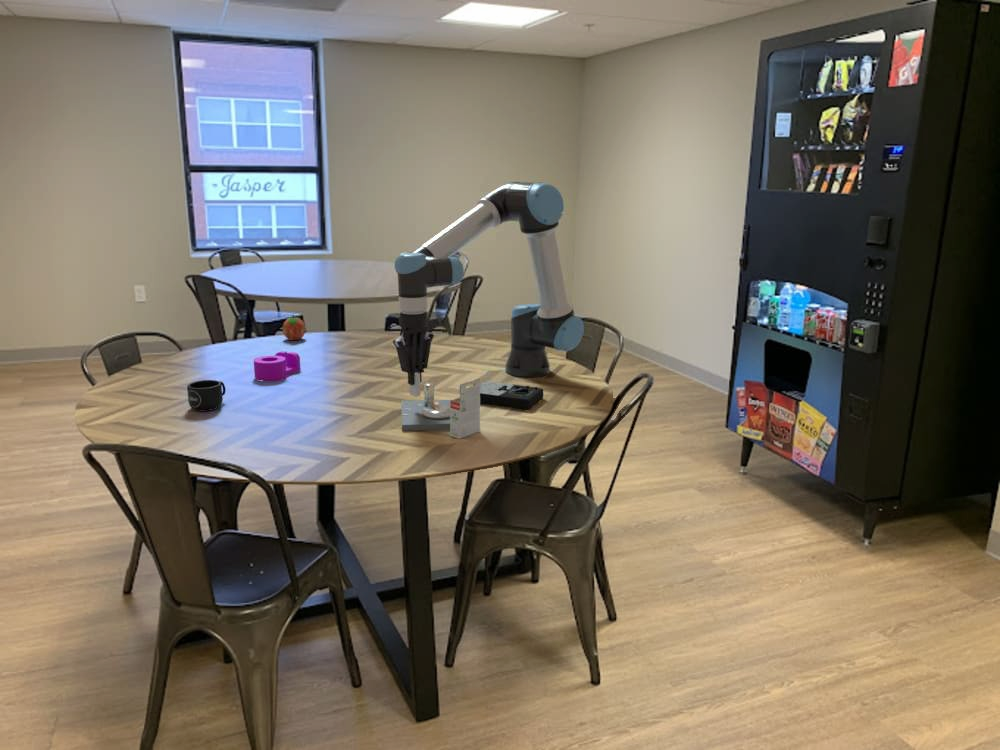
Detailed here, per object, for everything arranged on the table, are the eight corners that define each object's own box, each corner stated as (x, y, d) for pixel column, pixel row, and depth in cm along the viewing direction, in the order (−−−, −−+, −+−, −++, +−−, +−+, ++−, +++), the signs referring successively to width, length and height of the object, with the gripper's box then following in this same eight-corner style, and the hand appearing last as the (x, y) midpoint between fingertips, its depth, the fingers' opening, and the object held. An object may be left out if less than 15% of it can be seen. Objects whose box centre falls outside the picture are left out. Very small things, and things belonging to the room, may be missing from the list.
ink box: (449, 436, 195) (449, 382, 191) (470, 428, 201) (470, 376, 197) (459, 439, 193) (459, 385, 189) (480, 432, 199) (481, 378, 195)
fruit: (279, 341, 294) (277, 316, 291) (289, 336, 303) (288, 311, 301) (300, 342, 293) (298, 317, 290) (310, 337, 302) (308, 312, 299)
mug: (206, 415, 208) (204, 390, 206) (182, 410, 212) (179, 385, 210) (237, 403, 219) (235, 379, 217) (214, 399, 222) (212, 375, 220)
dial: (459, 417, 205) (459, 395, 203) (427, 421, 201) (427, 398, 200) (442, 402, 217) (442, 381, 216) (412, 405, 214) (412, 384, 212)
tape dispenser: (275, 383, 240) (274, 364, 238) (248, 380, 242) (247, 361, 241) (302, 371, 254) (301, 353, 253) (277, 368, 257) (275, 350, 255)
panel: (470, 404, 221) (470, 398, 221) (477, 428, 201) (477, 422, 201) (401, 406, 219) (401, 400, 218) (402, 430, 198) (402, 424, 198)
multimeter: (528, 412, 216) (529, 395, 215) (467, 403, 223) (467, 387, 222) (543, 399, 228) (544, 384, 227) (485, 392, 235) (485, 376, 234)
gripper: (421, 306, 210) (423, 387, 217) (385, 312, 201) (388, 397, 207) (440, 309, 205) (441, 392, 212) (403, 316, 196) (406, 403, 203)
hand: (415, 394), depth 210 cm, fingers closed
